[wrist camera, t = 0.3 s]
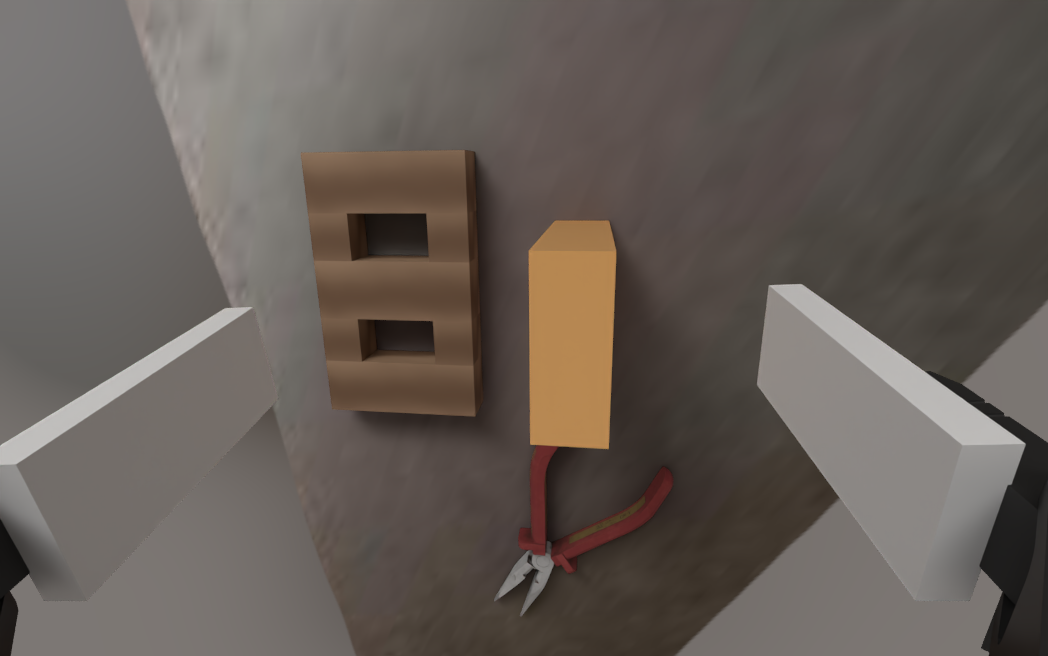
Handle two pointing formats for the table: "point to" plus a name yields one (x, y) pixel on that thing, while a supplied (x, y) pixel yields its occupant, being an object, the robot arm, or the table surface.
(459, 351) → the wooden slotted board
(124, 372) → the robot arm
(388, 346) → the table surface
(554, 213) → the table surface
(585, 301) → the orange arch-shaped block
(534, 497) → the pliers
